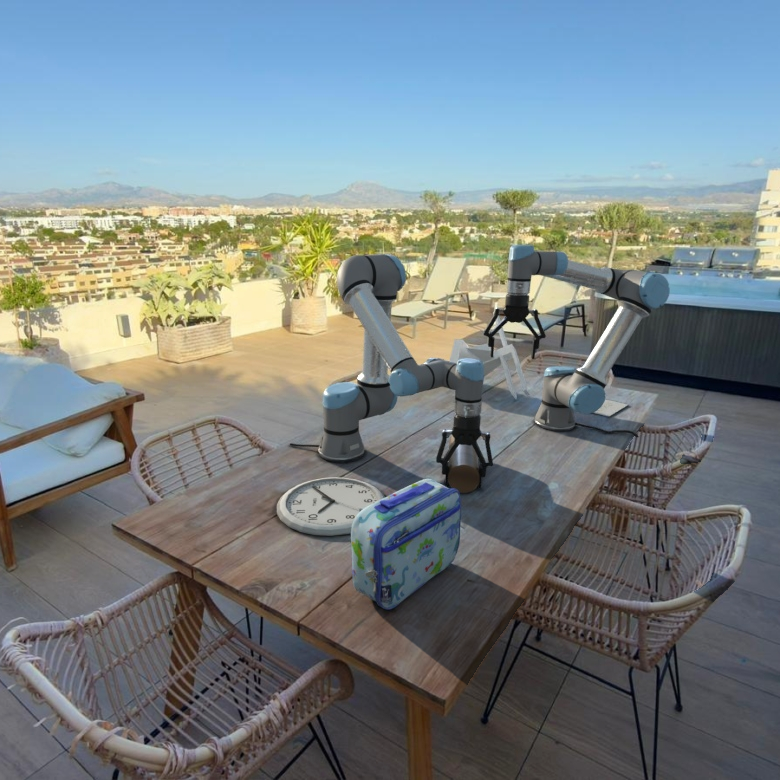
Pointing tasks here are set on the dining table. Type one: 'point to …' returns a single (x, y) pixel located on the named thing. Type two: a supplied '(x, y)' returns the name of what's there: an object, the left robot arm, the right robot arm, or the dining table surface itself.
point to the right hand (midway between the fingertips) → (512, 357)
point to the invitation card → (610, 408)
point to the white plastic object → (491, 358)
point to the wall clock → (326, 505)
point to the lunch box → (405, 541)
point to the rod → (463, 468)
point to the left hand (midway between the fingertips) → (462, 485)
